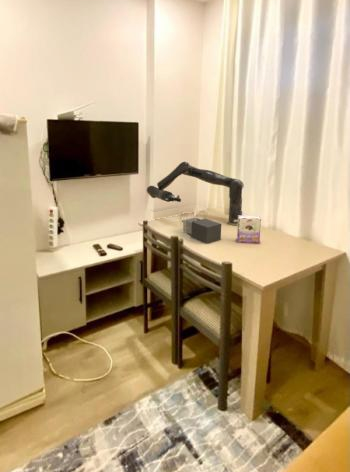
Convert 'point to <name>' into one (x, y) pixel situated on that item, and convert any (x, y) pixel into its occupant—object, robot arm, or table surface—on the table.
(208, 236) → the dark grey rectangular block
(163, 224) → the table surface
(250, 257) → the table surface
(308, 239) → the table surface
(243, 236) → the candy box
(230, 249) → the table surface
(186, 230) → the drawer
